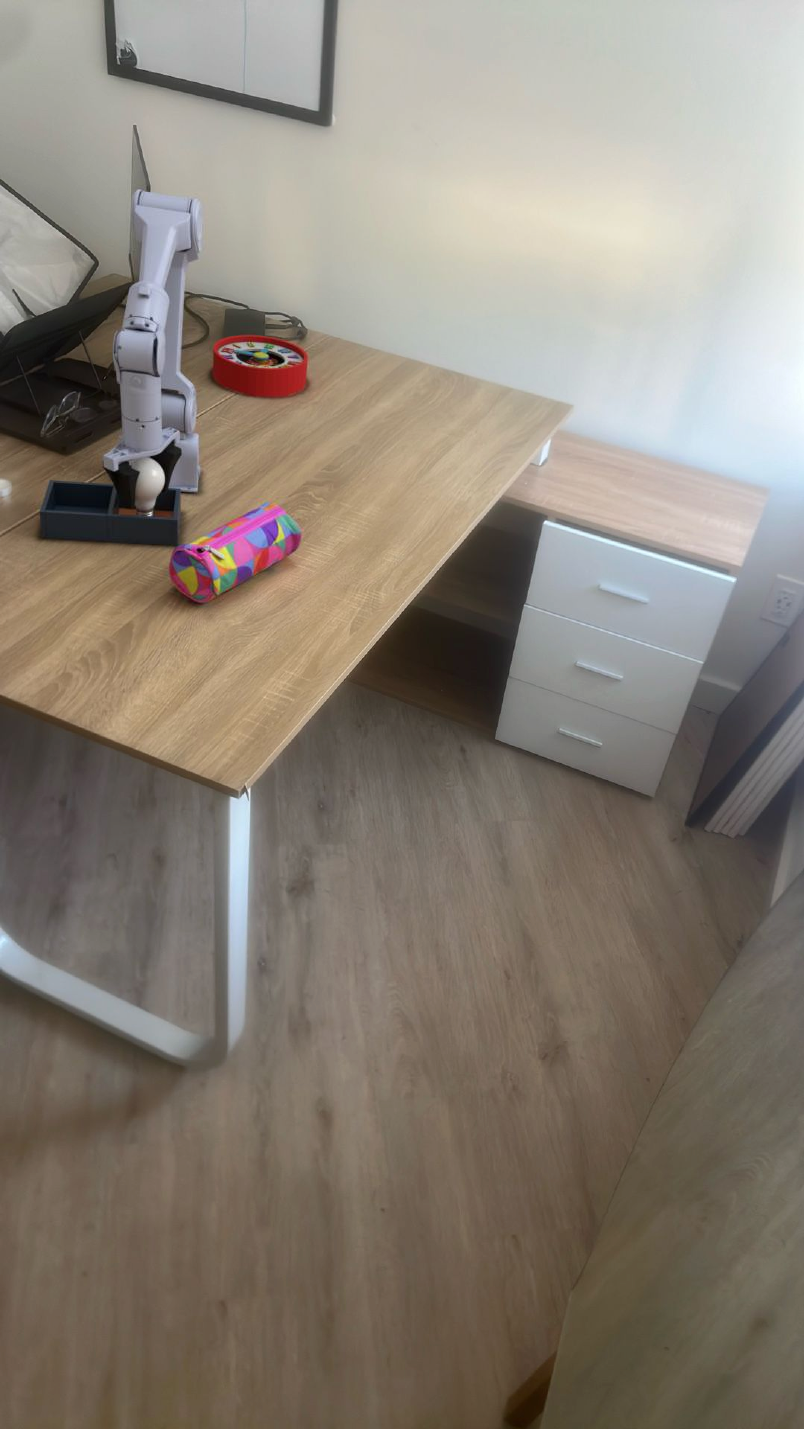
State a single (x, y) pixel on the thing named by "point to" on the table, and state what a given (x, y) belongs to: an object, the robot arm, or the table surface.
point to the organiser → (107, 515)
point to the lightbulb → (147, 484)
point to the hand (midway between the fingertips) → (144, 498)
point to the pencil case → (234, 552)
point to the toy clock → (259, 366)
